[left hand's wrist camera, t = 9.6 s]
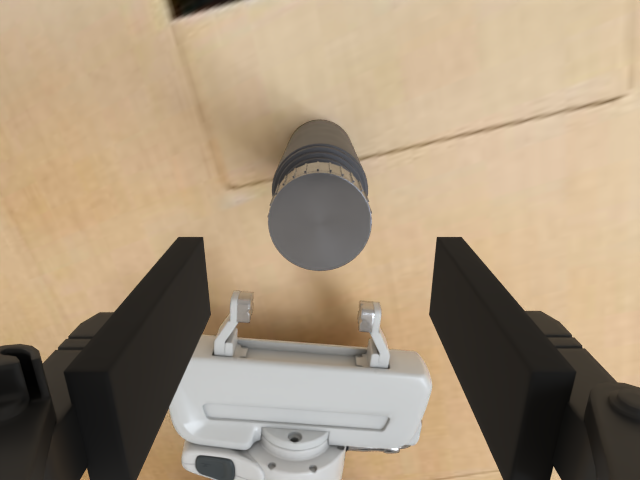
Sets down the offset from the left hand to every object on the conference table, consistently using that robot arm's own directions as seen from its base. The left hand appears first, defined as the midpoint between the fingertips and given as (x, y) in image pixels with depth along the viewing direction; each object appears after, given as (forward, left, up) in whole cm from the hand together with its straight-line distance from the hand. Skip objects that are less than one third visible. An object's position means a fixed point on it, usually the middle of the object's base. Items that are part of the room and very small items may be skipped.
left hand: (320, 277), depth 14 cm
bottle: (0, 0, -23) cm, 23 cm away
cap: (0, 0, -6) cm, 6 cm away
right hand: (+9, +3, -16) cm, 19 cm away
